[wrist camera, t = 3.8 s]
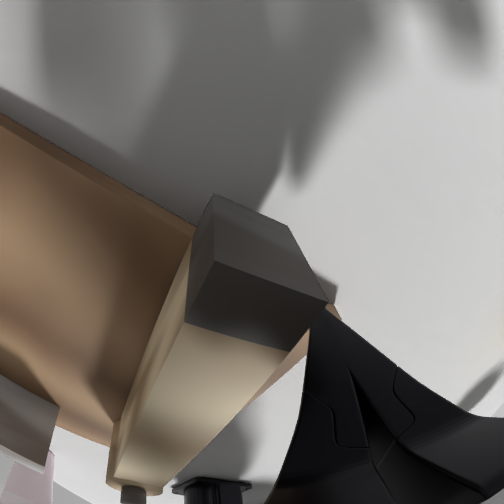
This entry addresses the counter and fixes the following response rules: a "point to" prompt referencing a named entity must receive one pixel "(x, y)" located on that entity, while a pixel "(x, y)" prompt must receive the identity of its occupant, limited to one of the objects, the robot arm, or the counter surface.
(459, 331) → the counter surface
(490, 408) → the counter surface
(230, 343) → the leg
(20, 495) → the smoothie
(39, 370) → the seat
